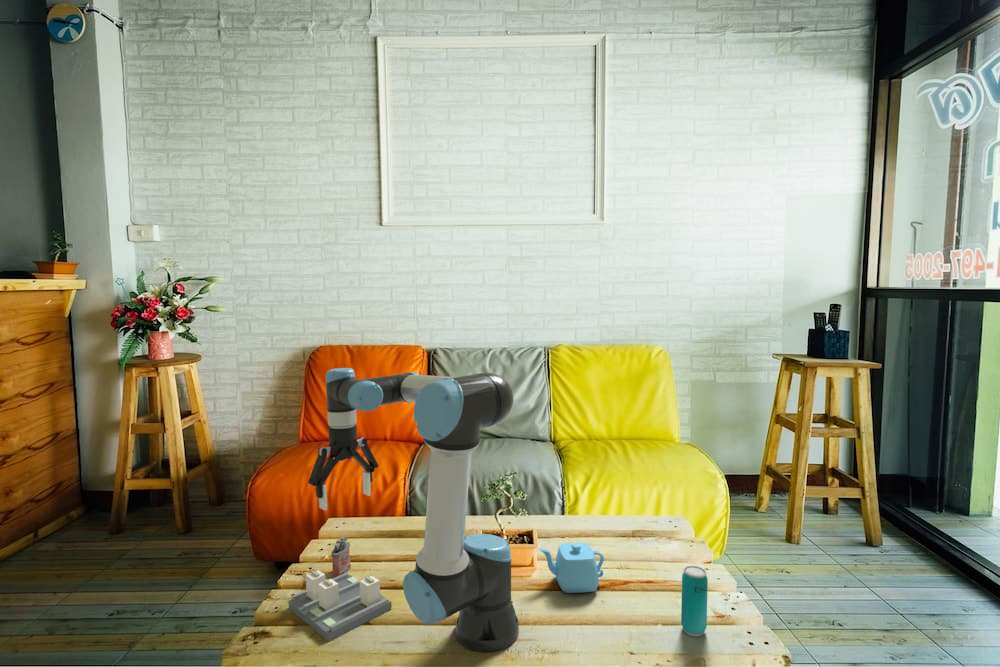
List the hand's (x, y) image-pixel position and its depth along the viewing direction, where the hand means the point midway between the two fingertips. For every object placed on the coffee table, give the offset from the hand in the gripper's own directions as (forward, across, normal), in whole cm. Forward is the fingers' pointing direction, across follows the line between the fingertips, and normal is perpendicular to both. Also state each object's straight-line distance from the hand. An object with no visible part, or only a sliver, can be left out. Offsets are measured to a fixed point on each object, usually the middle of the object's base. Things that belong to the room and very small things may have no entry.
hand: (345, 501), depth 156 cm
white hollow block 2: (+22, +3, +14) cm, 26 cm away
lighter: (+24, -3, -8) cm, 26 cm away
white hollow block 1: (+22, +10, +1) cm, 24 cm away
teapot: (+25, -42, +45) cm, 67 cm away
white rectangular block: (+22, +11, +8) cm, 26 cm away
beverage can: (+26, -44, +79) cm, 94 cm away
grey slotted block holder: (+24, +8, +8) cm, 27 cm away
